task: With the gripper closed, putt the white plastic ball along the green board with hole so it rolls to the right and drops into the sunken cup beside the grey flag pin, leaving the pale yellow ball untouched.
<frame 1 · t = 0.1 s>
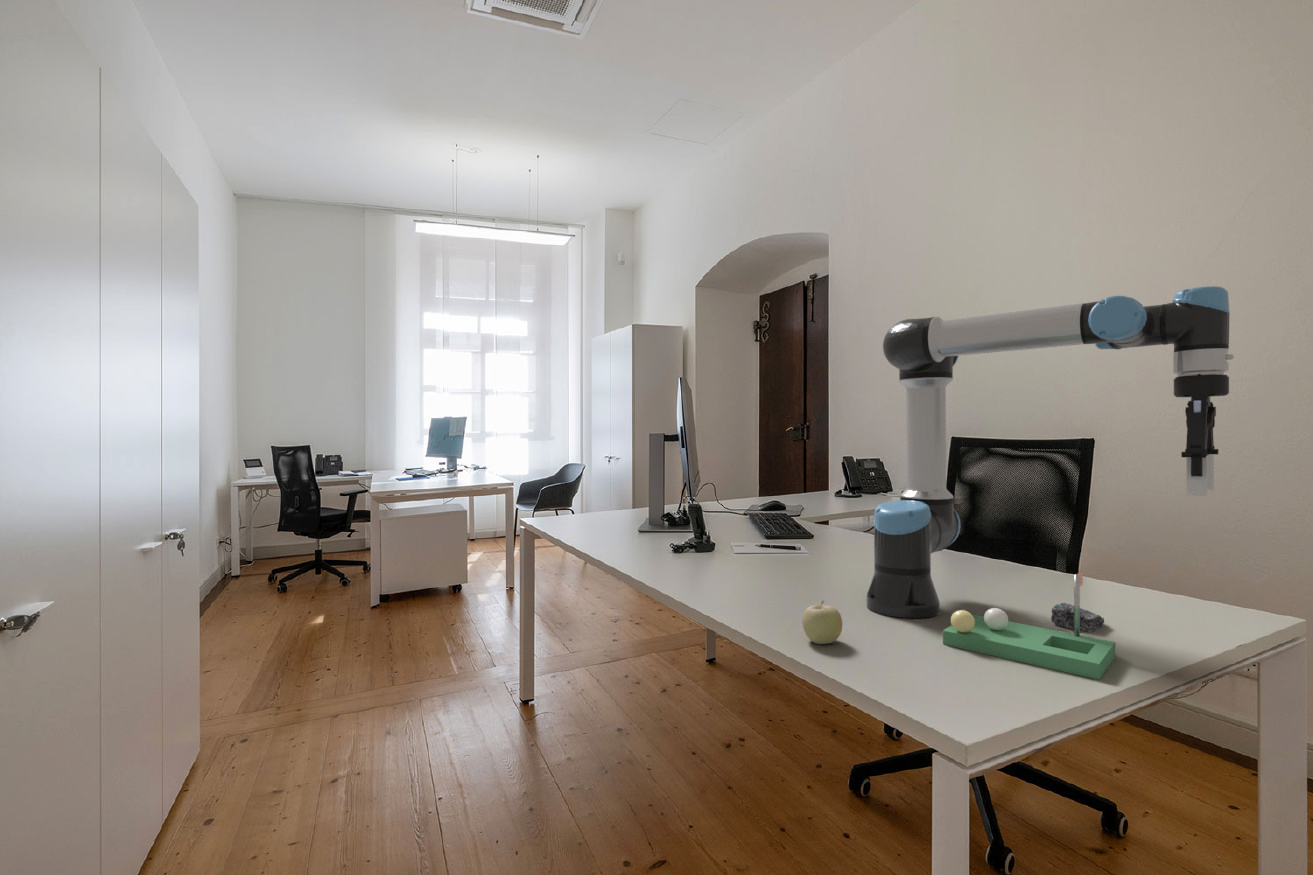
hand: (1200, 492, 112), 28 cm above the table, fingers open, 13 cm apart
green board with hole: (1026, 649, 112), on the table
ball: (996, 619, 115), point 4 cm above the table, touching green board with hole
rock: (1074, 626, 126), on the table
fruit: (822, 642, 118), on the table
ball2: (962, 621, 114), point 4 cm above the table, touching green board with hole
pin: (1077, 649, 112), resting on green board with hole
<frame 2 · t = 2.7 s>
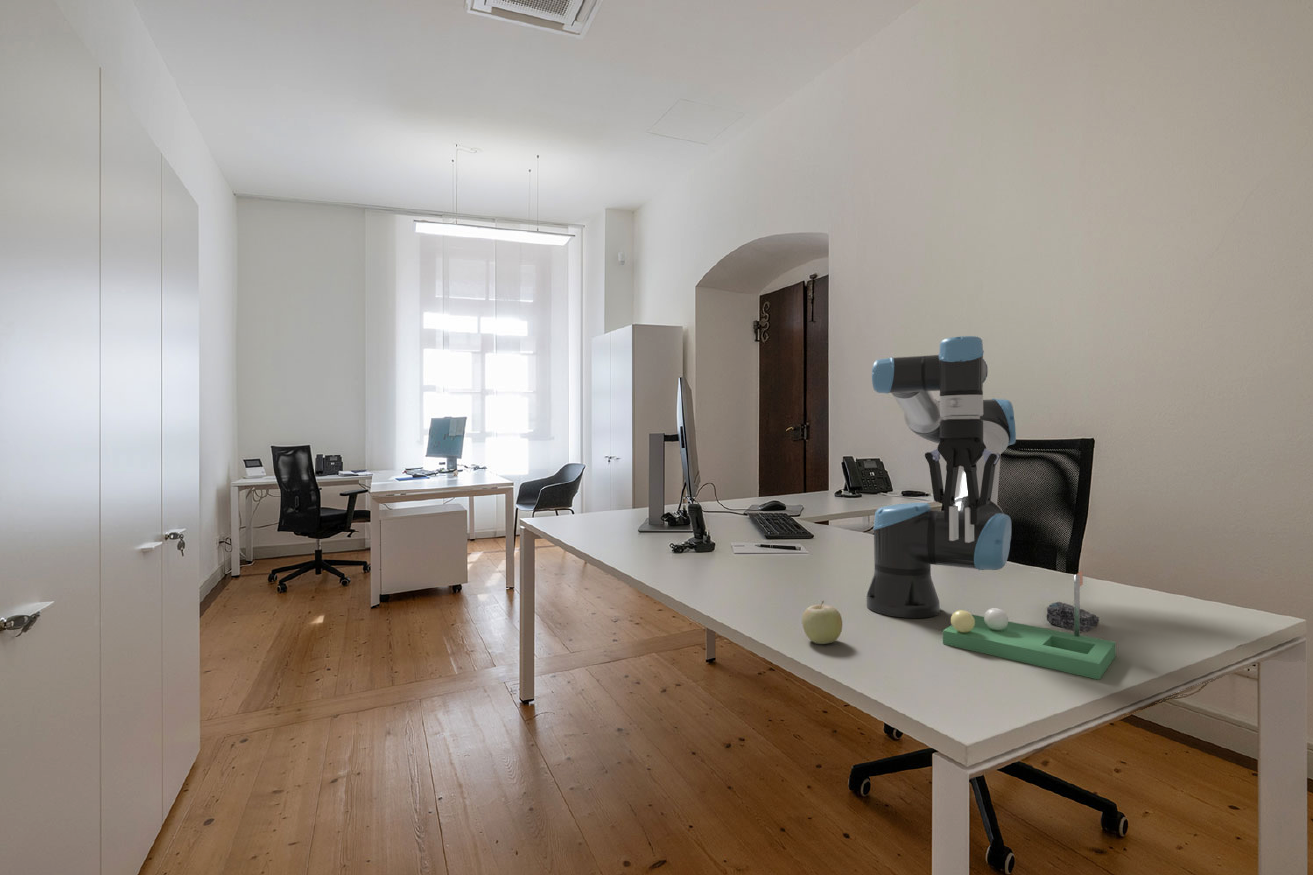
hand: (961, 540, 120), 18 cm above the table, fingers open, 2 cm apart
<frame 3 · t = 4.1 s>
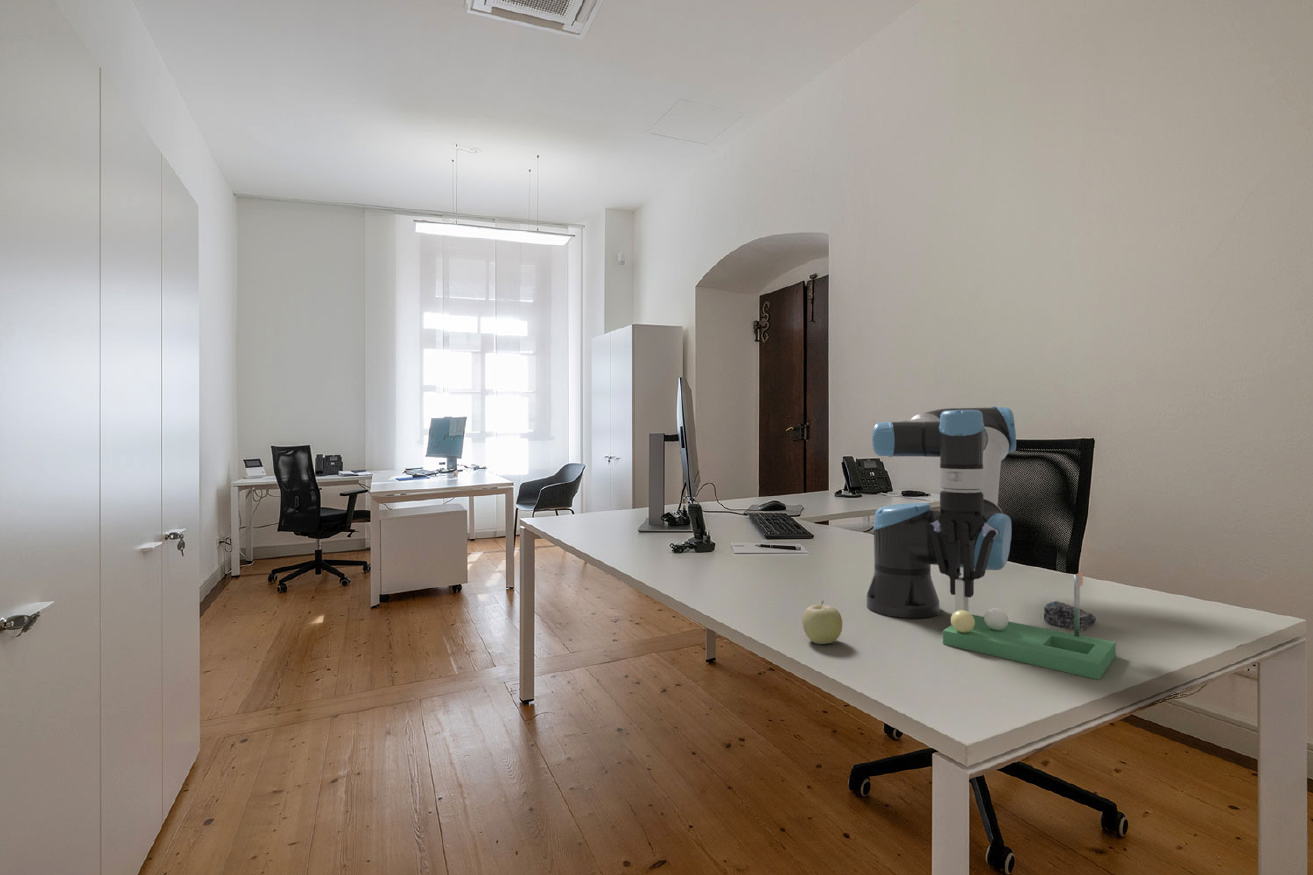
hand: (961, 612, 120), 5 cm above the table, fingers closed
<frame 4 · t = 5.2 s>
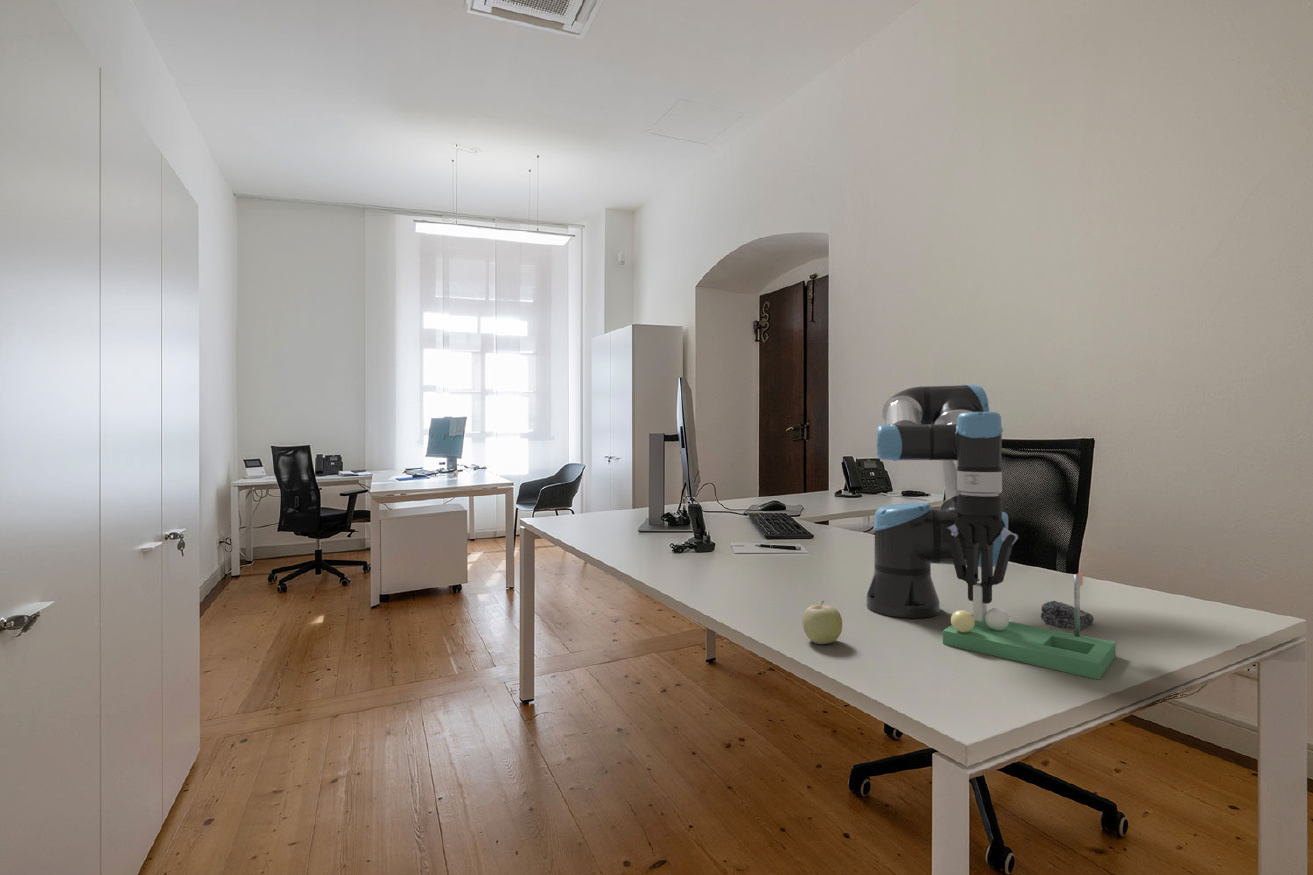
hand: (979, 619, 117), 4 cm above the table, fingers closed
ball: (996, 619, 115), point 4 cm above the table, touching gripper, green board with hole
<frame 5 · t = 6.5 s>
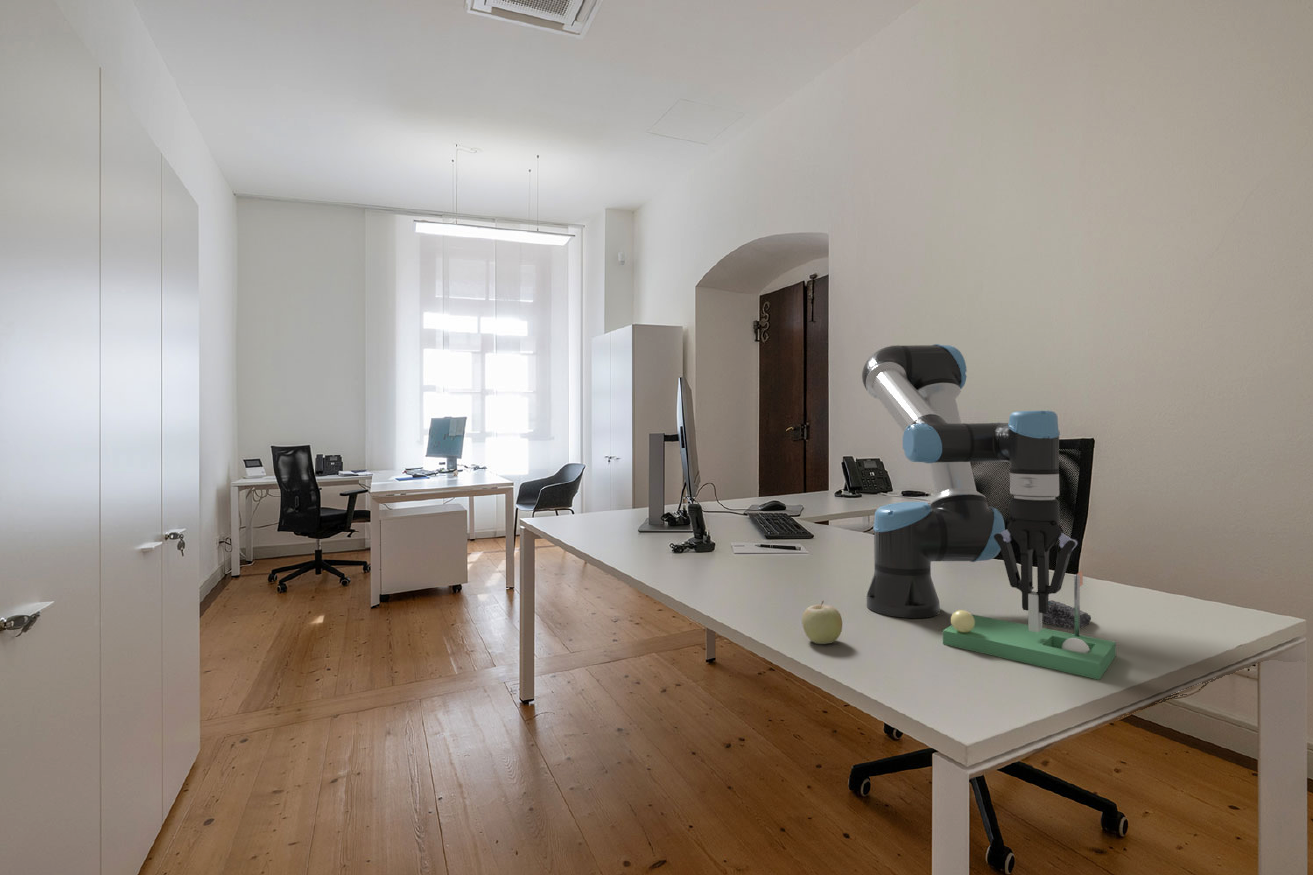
hand: (1035, 629, 111), 4 cm above the table, fingers closed
ball: (1075, 650, 106), point 2 cm above the table, tilted 30°
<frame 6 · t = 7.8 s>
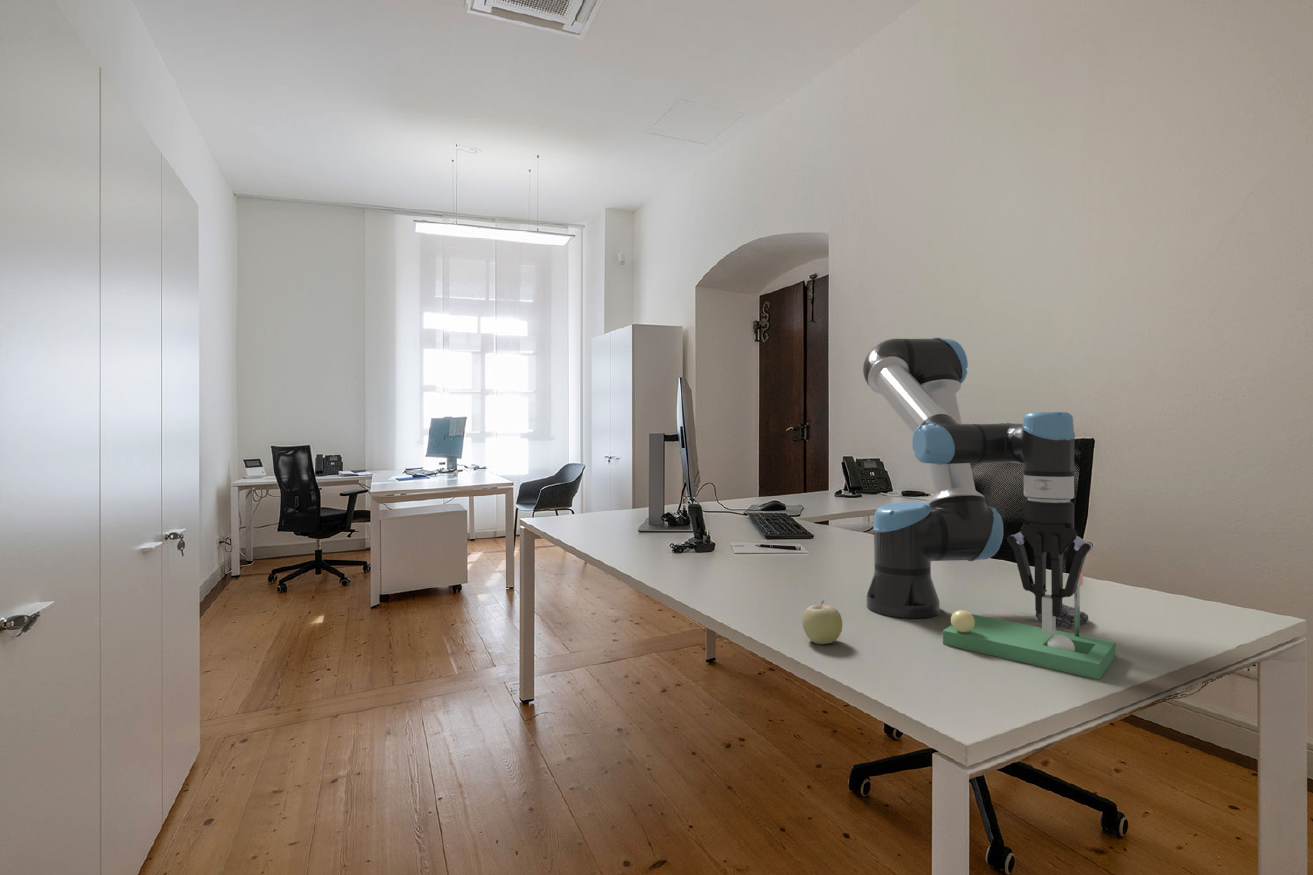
hand: (1048, 633, 109), 4 cm above the table, fingers closed
ball: (1061, 647, 108), point 2 cm above the table, tilted 31°, touching gripper
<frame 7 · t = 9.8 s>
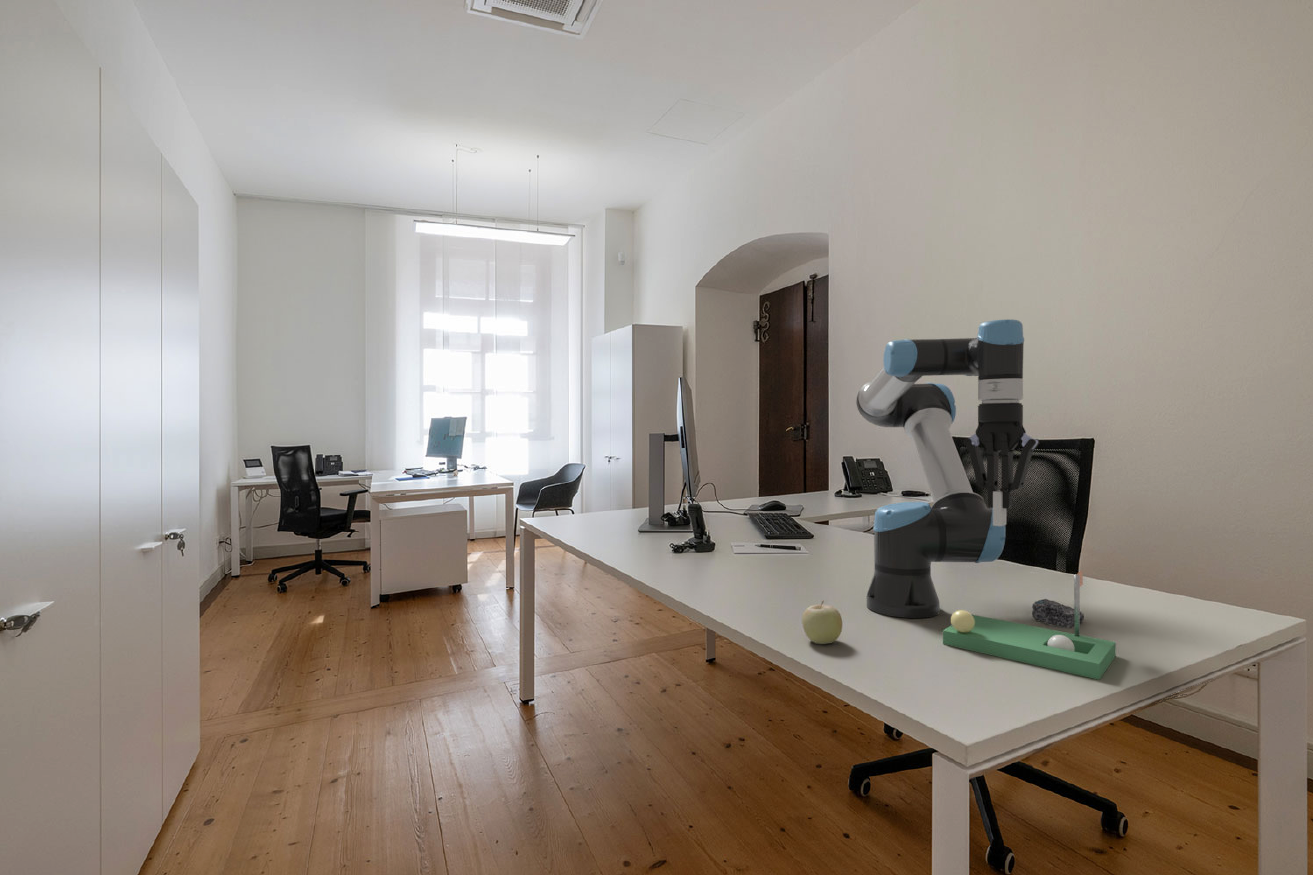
hand: (999, 524, 119), 21 cm above the table, fingers closed
ball: (1060, 646, 108), point 2 cm above the table, tilted 33°
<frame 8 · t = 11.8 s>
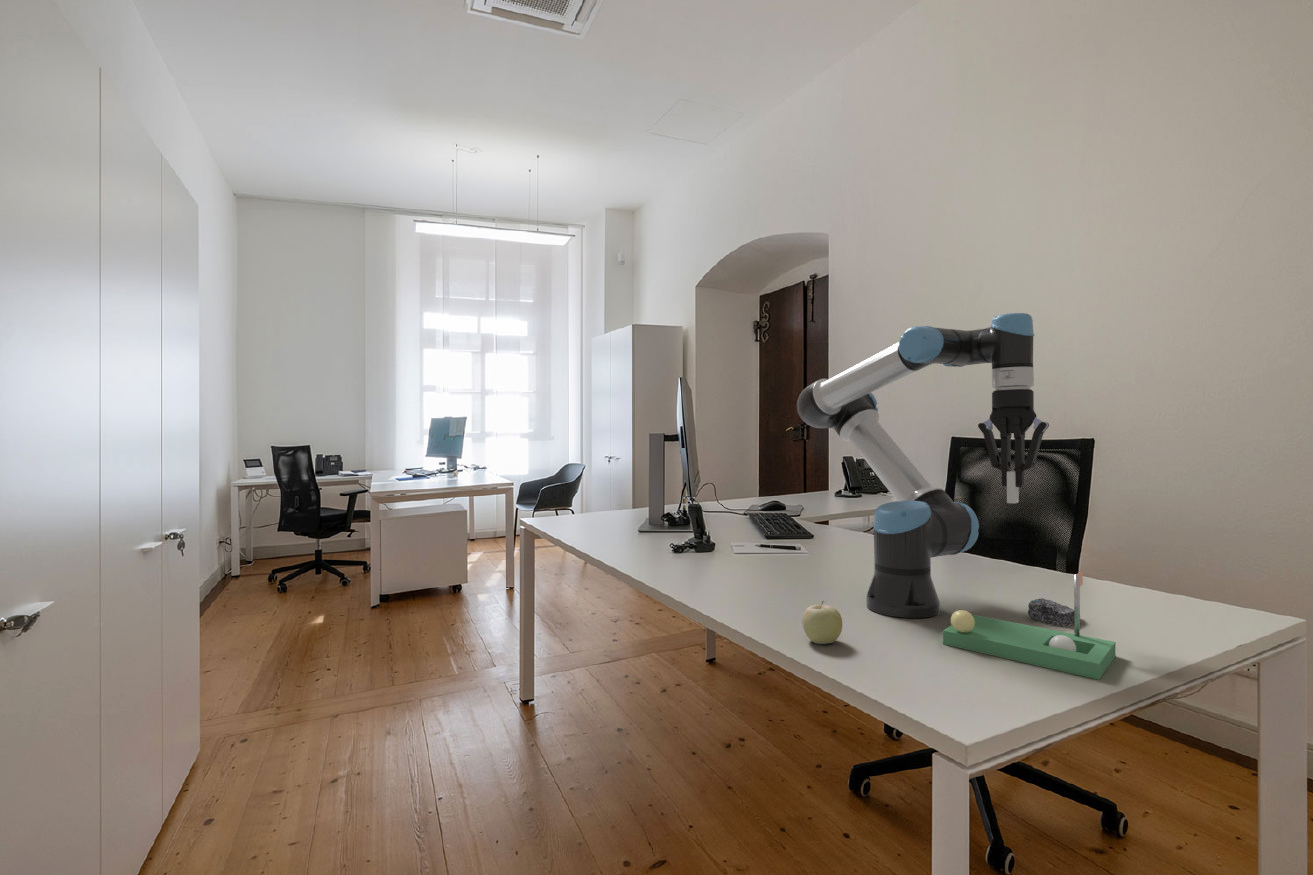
hand: (1012, 502, 129), 24 cm above the table, fingers closed
ball: (1062, 647, 108), point 2 cm above the table, tilted 26°
at the end: ball 1.0 cm from the target spot on the green board with hole, point 2.0 cm above the green board with hole's base; ball2 moved 0.0 cm from its start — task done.
